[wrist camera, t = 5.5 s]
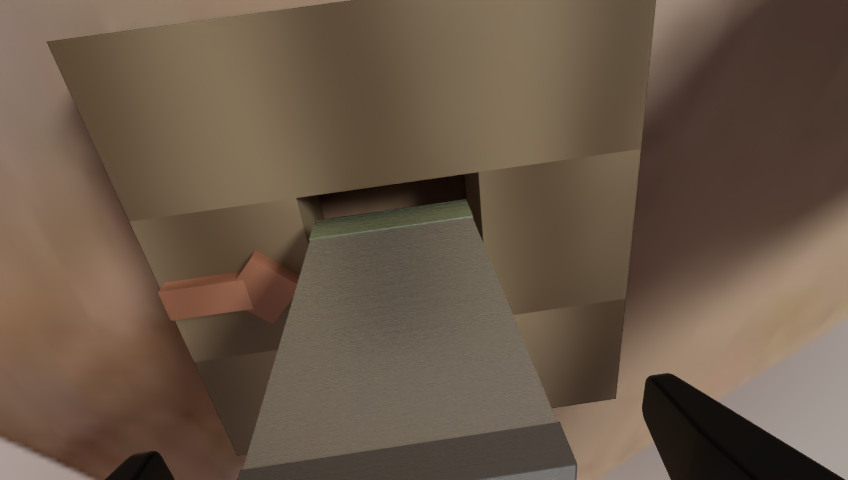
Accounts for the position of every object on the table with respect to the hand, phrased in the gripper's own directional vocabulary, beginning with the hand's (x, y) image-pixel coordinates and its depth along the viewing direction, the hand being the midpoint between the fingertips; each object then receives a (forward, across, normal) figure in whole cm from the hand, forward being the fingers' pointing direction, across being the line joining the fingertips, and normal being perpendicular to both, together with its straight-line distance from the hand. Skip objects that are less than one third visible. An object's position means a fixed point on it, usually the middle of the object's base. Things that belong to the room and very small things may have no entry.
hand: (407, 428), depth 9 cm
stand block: (+9, 0, 0) cm, 9 cm away
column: (+5, 0, 0) cm, 5 cm away
